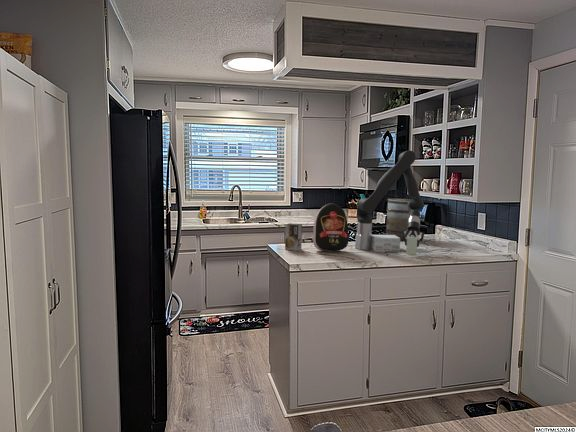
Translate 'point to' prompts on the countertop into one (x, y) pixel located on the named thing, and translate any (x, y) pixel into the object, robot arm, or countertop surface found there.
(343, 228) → the packaged food
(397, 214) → the barrel
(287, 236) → the coffee box
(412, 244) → the grey rectangular block
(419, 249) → the mat
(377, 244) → the supplement box
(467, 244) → the countertop surface
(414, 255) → the butter plate
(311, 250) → the countertop surface
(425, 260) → the countertop surface
